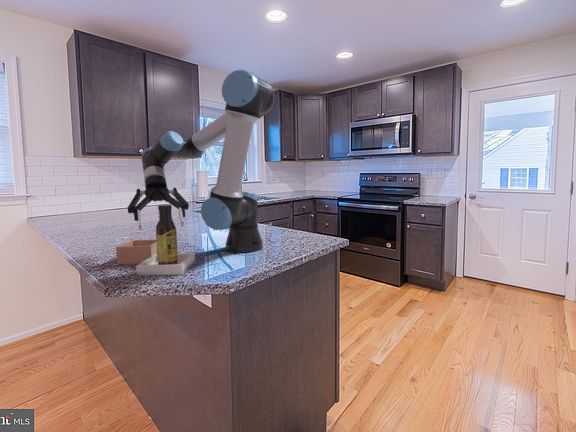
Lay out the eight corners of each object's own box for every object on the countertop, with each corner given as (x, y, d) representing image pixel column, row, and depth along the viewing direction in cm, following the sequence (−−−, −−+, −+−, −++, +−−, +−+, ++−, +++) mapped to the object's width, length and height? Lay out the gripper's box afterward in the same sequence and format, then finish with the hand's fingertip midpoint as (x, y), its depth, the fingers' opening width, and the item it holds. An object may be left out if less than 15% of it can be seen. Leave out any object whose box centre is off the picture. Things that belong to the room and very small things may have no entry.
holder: (164, 254, 122) (163, 239, 121) (152, 263, 110) (150, 246, 109) (133, 255, 122) (132, 240, 121) (117, 263, 110) (115, 247, 109)
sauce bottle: (171, 268, 100) (166, 206, 97) (153, 267, 101) (148, 206, 98) (182, 262, 106) (178, 204, 103) (165, 262, 107) (161, 204, 105)
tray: (195, 261, 110) (194, 253, 110) (182, 274, 97) (181, 265, 96) (155, 263, 110) (154, 254, 110) (136, 275, 96) (135, 266, 96)
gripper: (188, 186, 128) (197, 228, 117) (119, 188, 117) (122, 235, 106) (190, 173, 123) (199, 216, 111) (117, 174, 112) (120, 222, 100)
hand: (162, 225), depth 109 cm, fingers open, 13 cm apart
